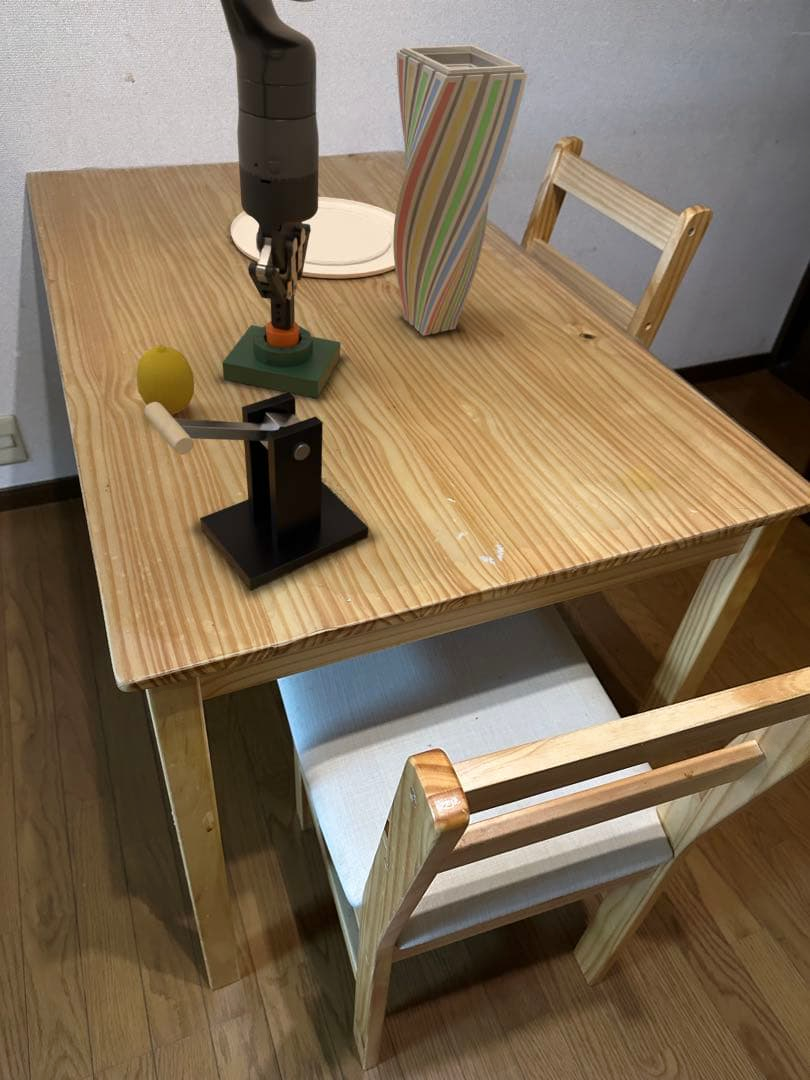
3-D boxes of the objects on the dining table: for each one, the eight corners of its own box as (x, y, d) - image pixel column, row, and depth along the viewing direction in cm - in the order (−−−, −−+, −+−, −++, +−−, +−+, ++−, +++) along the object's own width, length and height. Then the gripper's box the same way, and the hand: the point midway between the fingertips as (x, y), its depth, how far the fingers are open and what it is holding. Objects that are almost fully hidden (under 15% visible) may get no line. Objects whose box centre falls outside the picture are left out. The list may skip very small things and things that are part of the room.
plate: (262, 288, 102) (262, 283, 101) (210, 207, 119) (209, 203, 119) (449, 267, 111) (449, 263, 111) (375, 195, 129) (375, 191, 129)
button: (262, 345, 85) (261, 331, 84) (273, 330, 87) (272, 316, 86) (293, 351, 84) (293, 337, 83) (303, 336, 87) (303, 322, 86)
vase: (444, 291, 106) (477, 39, 85) (501, 337, 98) (553, 71, 77) (358, 309, 100) (372, 42, 80) (412, 359, 92) (443, 78, 72)
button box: (223, 379, 86) (220, 347, 83) (252, 341, 92) (250, 310, 89) (317, 398, 85) (318, 366, 82) (340, 358, 91) (341, 327, 88)
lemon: (191, 431, 78) (182, 363, 73) (136, 427, 78) (124, 358, 72) (202, 401, 82) (195, 334, 77) (150, 397, 82) (139, 329, 76)
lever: (170, 461, 53) (179, 430, 52) (140, 424, 55) (147, 394, 54) (307, 462, 62) (317, 436, 60) (275, 430, 64) (284, 405, 63)
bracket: (250, 590, 64) (242, 470, 55) (200, 527, 68) (184, 408, 60) (368, 537, 69) (377, 420, 61) (314, 482, 74) (315, 367, 65)
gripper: (265, 134, 78) (270, 294, 90) (214, 176, 68) (228, 348, 80) (336, 146, 77) (332, 305, 89) (294, 190, 68) (296, 362, 80)
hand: (283, 326), depth 85 cm, fingers closed
